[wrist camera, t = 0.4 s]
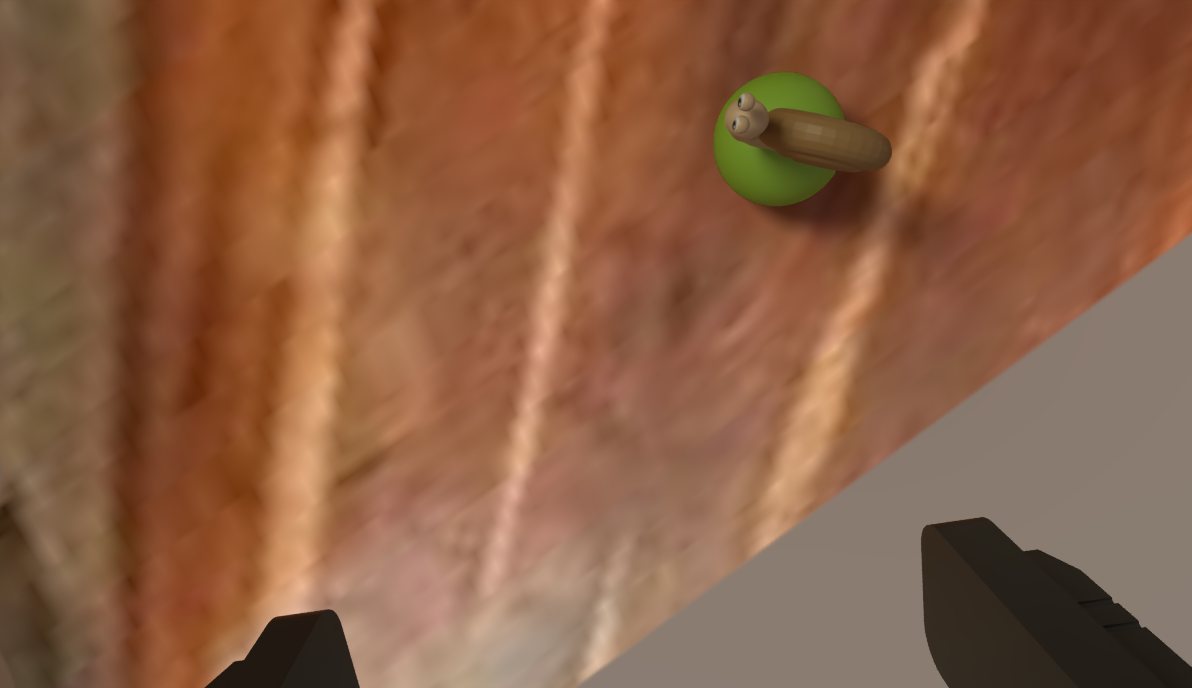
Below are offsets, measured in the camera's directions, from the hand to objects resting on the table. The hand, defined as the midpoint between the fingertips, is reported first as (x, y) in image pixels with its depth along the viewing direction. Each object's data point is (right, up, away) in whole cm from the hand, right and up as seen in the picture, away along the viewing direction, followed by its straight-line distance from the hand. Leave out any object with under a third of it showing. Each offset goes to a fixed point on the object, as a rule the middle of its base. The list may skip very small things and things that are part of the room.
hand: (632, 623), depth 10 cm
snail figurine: (+7, +13, +24) cm, 28 cm away
